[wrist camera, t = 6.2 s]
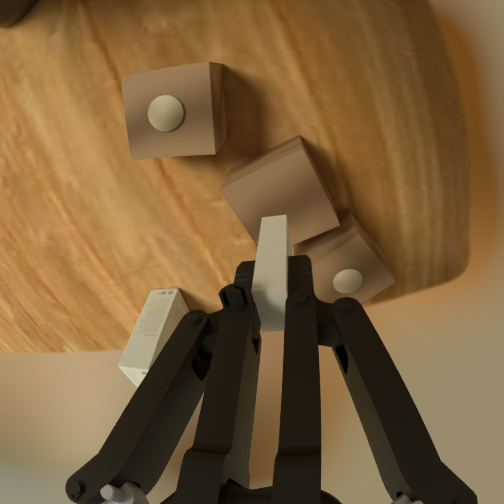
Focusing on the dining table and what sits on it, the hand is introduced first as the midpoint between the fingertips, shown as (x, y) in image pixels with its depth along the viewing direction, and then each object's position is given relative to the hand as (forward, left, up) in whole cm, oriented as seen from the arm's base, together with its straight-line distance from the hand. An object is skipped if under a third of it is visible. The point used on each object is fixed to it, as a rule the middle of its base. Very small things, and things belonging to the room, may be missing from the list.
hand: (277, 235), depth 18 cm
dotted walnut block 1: (-9, -7, -10) cm, 15 cm away
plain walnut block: (0, 0, -10) cm, 10 cm away
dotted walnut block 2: (+8, +5, -10) cm, 14 cm away
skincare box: (+14, -16, -10) cm, 24 cm away
